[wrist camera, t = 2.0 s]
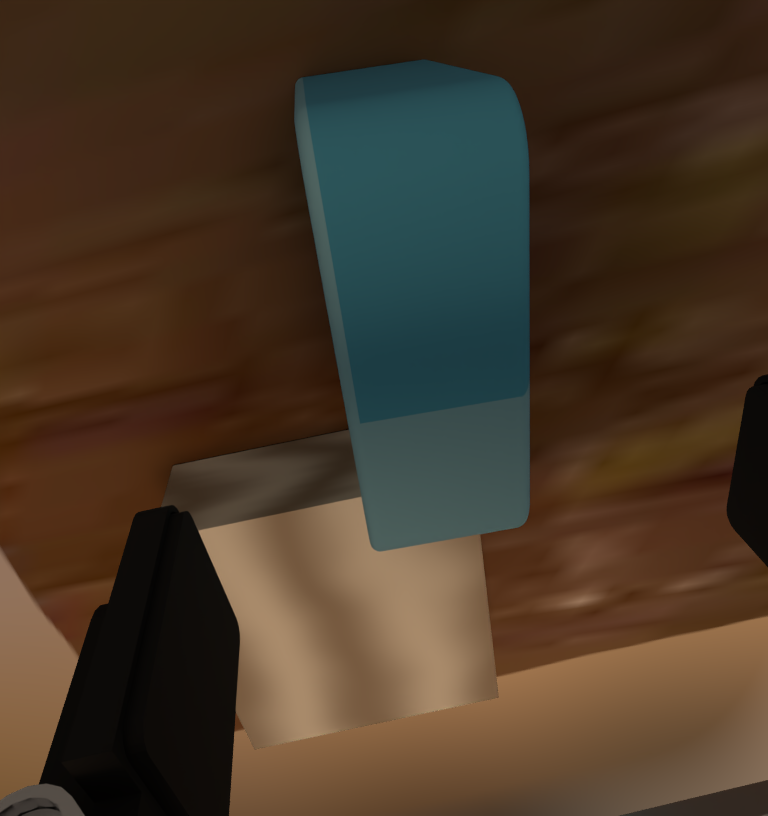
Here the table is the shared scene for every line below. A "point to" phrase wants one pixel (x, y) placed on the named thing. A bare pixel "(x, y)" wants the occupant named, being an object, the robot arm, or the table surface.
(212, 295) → the table surface
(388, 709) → the birch riser block
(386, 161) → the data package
